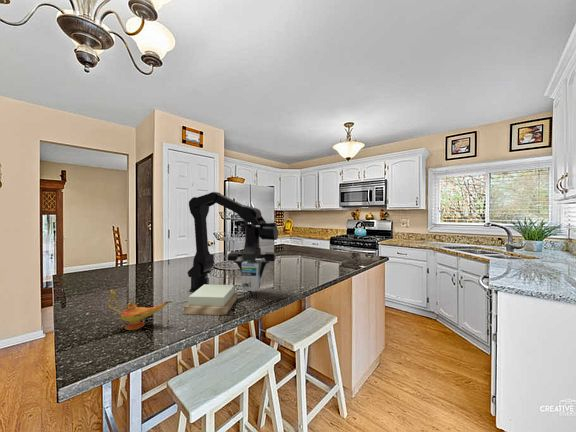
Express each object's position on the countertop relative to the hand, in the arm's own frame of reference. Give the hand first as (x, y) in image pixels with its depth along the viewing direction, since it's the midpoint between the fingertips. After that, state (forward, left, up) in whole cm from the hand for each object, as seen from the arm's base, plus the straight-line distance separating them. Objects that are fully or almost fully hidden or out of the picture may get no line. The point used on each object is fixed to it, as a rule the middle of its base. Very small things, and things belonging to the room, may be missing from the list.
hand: (252, 277), depth 104 cm
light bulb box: (0, 0, -4) cm, 4 cm away
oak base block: (-12, -12, -8) cm, 19 cm away
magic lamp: (-28, -29, -7) cm, 41 cm away
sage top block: (-12, -12, -5) cm, 17 cm away
